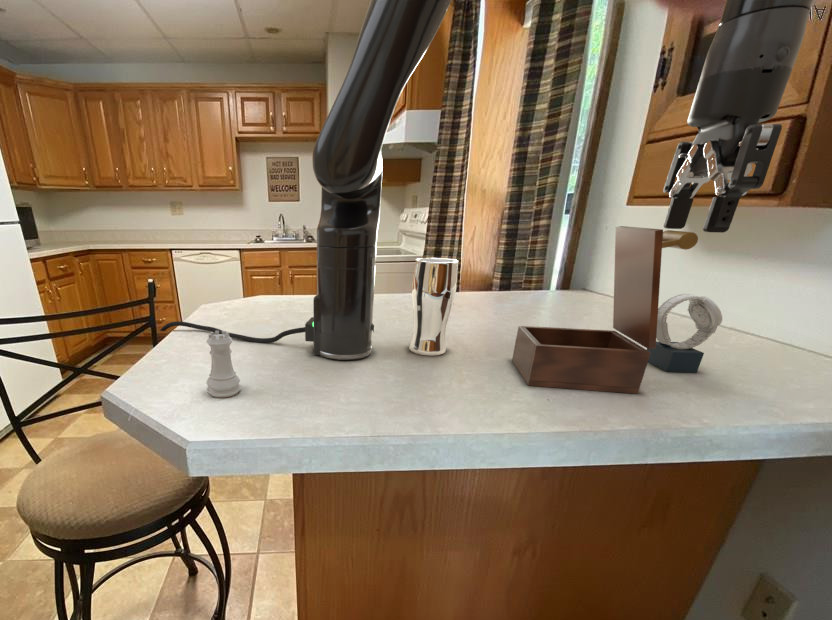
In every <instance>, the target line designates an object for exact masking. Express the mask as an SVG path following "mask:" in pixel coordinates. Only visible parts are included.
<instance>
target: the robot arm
mask: <svg viewBox="0 0 832 620" xmlns="http://www.w3.org/2000/svg"><path fill="white" fill-rule="evenodd" d="M814 1H815V0H725V2H724V6H723V9H722V13H721V16H720V20H719V22H718V26H717V30H716V32H715V35H714V37H713V40H712V42H711V44H710V46H709V49H708V51H707V53H706V57H705V60H704V64H703V66H702V70H701V74H700V77H699V81H698V83H697V87H696V90H695V93H694V97H693V100H692V104H691V107H690V110H689V114H688V117H687V121H686V123H687V125H688V126H689V127H690V128H691V127H692V128H697V130H698V132H697V134H696V136H695V138H694V140H693V141H680V142H679V143H678V144H677V146H676V148H675V152H674V155H673V158H672V162H671V164H670V168H669V171H668V174H667V176H666V180H665V182H664V186H663V190H662V191H663V193H667V194H668V195H669V196H668V197H669V198H671V199H670V202H669V206H668V210H667V212H666V216H665V219H664V222H663V229H665V230H666V229H667V230H682V229H683V228H685V226H686V224H687V221H688V218H689V215H690V211H691V209H692V205H693V202H694V199H695V198H694V197H695V195H696V194H697V192H698V191H699V190H700V189H701V187H702V186H703V185H704V184H707V183H708V182H710V181H711V180H712V181H713V183H714V191H715V192H714V193H715V195H716V196H712V200H711V202H710V206H709V209H708V212H707V215H706V218H705V221H704V224H703V226H702V230H703V232H704V233H720V234H721V233H726V232H727V231H728V230H729V229H730V227H731V225H732V222H733V219H734V215H735V213H736V211H737V207H738V205H739V202H740V200H741V198H742V197H743V196H746V195H747V194H748V192H749V191H751V190H757V189H760V188H761V187H762V186H763V185H764V183H765V179H766V177H767V174H768V170H769V167H770V165H771V161H772V159H773V156H774V153H775V150H776V147H777V144H778V140H779V138H780V135H781V133H782V129H783V125H782V124H781V123H763V122H766V121H769V120H771V119H772V118H774V117H775V116H776V114H777V113H778V109H779V107H780V104H781V101H782V99H783V96H784V94H785V90H786V88H787V85H788V82H789V80H790V77H791V74H792V73H793V72H792V71H793V69H794V66H795V63H796V60H797V58H798V55H799V53H800V49H801V47H802V43H803V41H804V38H805V34H806V28H807V23H808V19H809V16H810V12H811V10H812V7H813V4H814ZM451 3H452V0H370V1H369V4H368V7H367V9H366V13H365V16H364V19H363V22H362V25H361V28H360V31H359V35H358V38H357V41H356V44H355V48H354V52H353V55H352V58H351V61H350V65H349V67H348V69H347V72H346V75H345V77H344V79H343V82H342V84H341V86H340V89H339V91H338V93H337V95H336V98H335V100H334V102H333V103H332V106H331V108H330V110H329V112H328V114H327V116H326V119H325V121H324V123H323V125H322V128H321V129H320V132H319V134H318V136H317V139H316V140H315V142H314V143H315V144H314V146H313V152H312V158H311V159H312V170H313V174H314V176H315V179H316V181H317V182H318V184H319V185H320V187H321V201H320V203H321V205H320V215H319V221H318V224H317V227H316V295H314V297H313V301H312V302H313V305H312V307H313V310H312V311H313V317H312V316H311V317H310V318H309V319H308V320H307V321H306V323H305V324H304V327H295V328H291V329H287V330H284V331H282V332H280V333H278V334H277V335H275V336H273V337H254V336H247V335H243V334H238V333H234V332H233V333H232V332H229V336H230V337H231V338H232V339H235V340H240V341H245V342H250V343H259V344H270V343H275V342H278V341H280V340H281V339H282V338H284V337H286V336H290V335H294V334H302V333H304V339H305V340H304V342H311V343H313V355H314V356H319V357H320V356H321V357H324V358H327V359H329V360H331V359H332V360H340V361H351V360H352V361H353V360H359V359H364V358H366V357H368V356H370V355H371V354H372V348H373V347H372V342H373V340H372V338H373V337H372V335H373V333H374V332H375V324H374V323H373V317H374V301H375V300H374V299H375V298H374V297H375V283H376V282H375V281H376V265H377V263H376V261H377V244H378V243H377V242H378V231H379V225H380V217H381V216H380V215H381V199H382V185H383V184H382V183H383V154H382V147H383V143H384V141H385V137H386V135H387V131H388V128H389V125H390V123H391V119H392V117H393V114H394V111H395V108H396V106H397V103H398V101H399V99H400V97H401V94H402V92H403V90H404V88H405V87H406V85H407V83H408V81H409V79H410V77H411V76H412V75H413V73H414V72H415V70H416V68H417V66H418V65H419V63H420V62H421V60H422V59H423V58H424V55H425V54H426V52H427V51H428V49H429V47H430V46H431V44H432V42H433V40H434V39H435V36H436V34H438V31H439V29H440V27H441V25H442V22H443V21H444V19H445V16H446V14H447V12H448V10H449V7H450V5H451ZM753 164H754V165H755V167H754V170H753ZM752 170H753V173H752V175H749V174H750V173H751V172H752ZM676 178H677V180H676ZM172 327H185V328H190V329H195V330H200V331H206V332H213V333H215V331H219V334H222V331H223V329H220V328H217V327H214V326H208V325H203V324H202V325H201V324H197V323H192V322H188V321H179V320H177V321H170V322H168V323H166V324H165V325H163V326H162V327H161V328H160V329H159V331H160V332H166V330H168V329H170V328H172Z"/></svg>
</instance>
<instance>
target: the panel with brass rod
mask: <svg viewBox="0 0 832 620" xmlns="http://www.w3.org/2000/svg"><path fill="white" fill-rule="evenodd" d="M614 236H615V240H614V248H615V249H614V276H613V277H614V280H613V281H614V282H613V283H614V284H613V316H612V317H613V319H612V328H613V330H615V331H616V332H618V333H620V334H621V335H623V336H625V337H626V338H628V339H630V340H631V341H633V342H635V343H636V344H638V345H640V346H641V347H643V348H645V349H646V350H647V349H655V348H656V341H657V338H656V335H657V319H658V311H659V310H658V308H659V302H660V301H659V300H660V286H661V269H662V268H661V267H662V253H663V249H666V248H672V249H679V250H686V251H687V250H690V249H692V248H694V247H695V246H696V245H697V244H698V241H699V236H698V234H697V233H695V232H693V231H682V230H673V229H667V230H664V228H663V229H660V228H650V227H640V226H639V227H637V226H627V225H620V226H615V235H614Z"/></svg>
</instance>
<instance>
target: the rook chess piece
mask: <svg viewBox="0 0 832 620" xmlns="http://www.w3.org/2000/svg"><path fill="white" fill-rule="evenodd" d="M229 333H230V332H229V331H227V330H222V334H219V331H215V332H211V331H209V333H208V338H207V339H206V343H207V345H208V346H209V347H210V351H209V352H208V354H209V355H210V358H211V366H210V367H211V368H210V373H209V375H208V376H209V377H208V378H207V380H206V386H207V388H206V391H207V393H208V394H209V395H210V396H212V397H214V398H231V397H234V396H236V395H237V394H238V393H239V392H240V390H241V388H242V385H240V382H241V379H240V377H239V376H238V375H237V372H236V371H235V369H234V366H233V362H232V358H231V357H232V350H231V347H230V346H231V344H232V342H233V341H234V339H233V338H231V337H230V336H229Z"/></svg>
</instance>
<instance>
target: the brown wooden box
mask: <svg viewBox="0 0 832 620" xmlns="http://www.w3.org/2000/svg"><path fill="white" fill-rule="evenodd" d="M512 352H513V353H512V358H511V362H512V363H513V364H514V366H515V368H516V369H517V371H518V372H519V374H520V376H521V377H522V378H523V380H524V381H525V383H526V385H527V386H528V387H530V386H531V387H542V388H552V389H553V388H555V389H568V390H581V391H595V392H605V393H607V392H608V393H619V394H620V393H621V394H633V395H634V394H635V395H638V394H639V391H640V388H641V386H642V385H641V384H642V381H643V378H644V375H645V373H646V370H647V366H648V363H649V362H648V360H649V357H650V354H651V352H649V351H648V350H647V348H645V347H644V346H642V345H640V344H639V343H637V342H635V341H634V340H632V339H630V338H629V337H627V336H625V335H624V334H622V333H620V332H619V331H617V330H610V329H609V330H608V329H607V330H606V329H589V328H572V327H571V328H569V327H552V326H551V327H550V326H531V325H518V327H517V332H516V336H515V342H514V346H513V351H512Z"/></svg>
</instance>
